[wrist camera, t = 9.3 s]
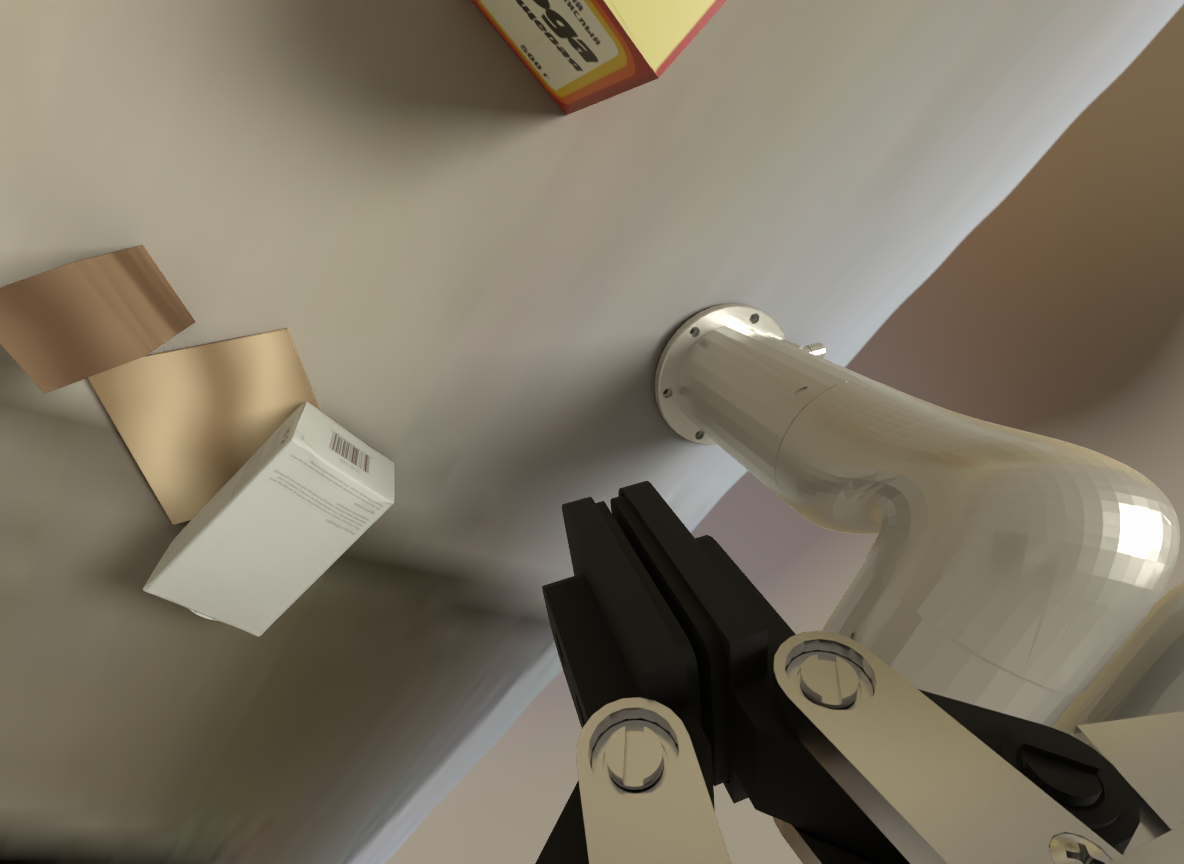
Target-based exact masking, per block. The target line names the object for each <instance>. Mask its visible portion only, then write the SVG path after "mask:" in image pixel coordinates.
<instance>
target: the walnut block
mask: <svg viewBox="0 0 1184 864" xmlns="http://www.w3.org/2000/svg"><path fill="white" fill-rule="evenodd" d="M193 323H195V321H194V319H193V318H192V316H191V315H190V313H189V312H188V310H187V309H186V307H185V306H184V304H183V303H182V302H181V300H180V299H179V297H178V296H177V294H176V293H175V291H174V290H173V288H172V287H171V286H170V284H169V283H168V281H167V280H166V278H165V277H164V275H163V274H162V272H161V271H160V270H159V268H158V267H157V265H156V264H155V262H154V261H153V259H152V258H151V256H150V255H149V254H148V252H147V251H146V249H145V248H144V246H143V245H141V246H137V247H133V248H129V249H125V250H121V251H117V252H113V253H109V254H105V255H101V256H97V257H93V258H89V259H85V260H81V261H77V262H73V263H70V264H67V265H64V266H62V267H59V268H56V269H53V270H50V271H47V272H44V273H41V274H38V275H35V276H33V277H30V278H27V279H24V280H21V281H18V282H15V283H12V284H9V285H7V286H4V287H1V288H0V344H1V345H2V346H3V348H4V349H5V350H6V351H7V352H8V353H9V354H10V355H11V357H12V358H13V359H14V360H15V361H16V362H17V363H18V364H19V366H20V367H21V368H22V369H23V370H24V371H25V372H26V373H27V375H28V376H29V377H30V378H31V379H32V380H33V381H34V382H35V384H36V385H37V386H38V387H39V388H40V389H41V390H42V391H43V393H44V394H45V393H48V392H50V391H53V390H56V389H58V388H61V387H64V386H67V385H69V384H72V383H75V382H77V381H80V380H83V379H85V378H88V377H91V376H93V375H96V374H99V373H102V372H104V371H107V370H110V369H112V368H115V367H118V366H120V365H123V364H126V363H128V362H131V361H134V360H137V359H139V358H142V357H144V356H146V355H147V354H149V353H150V352H152V351H153V350H155V349H156V348H158V347H159V346H161V345H162V344H164V343H165V342H167V341H168V340H170V339H171V338H172V337H174V336H175V335H177V334H178V333H180V332H181V331H183V330H184V329H186V328H187V327H189V326H190V325H192V324H193Z"/></svg>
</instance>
